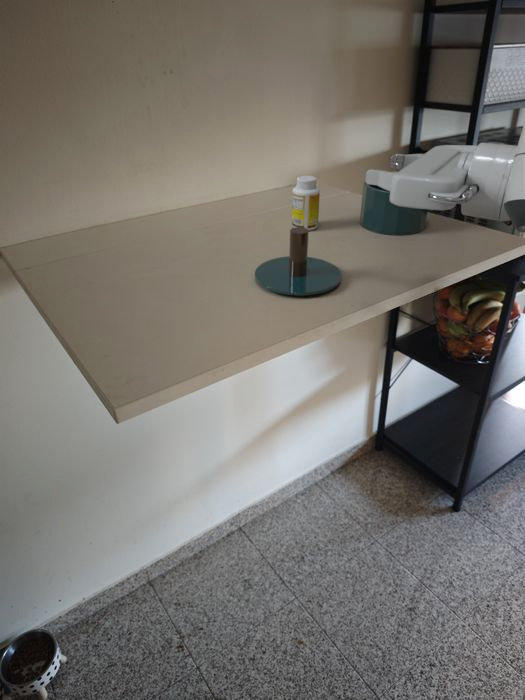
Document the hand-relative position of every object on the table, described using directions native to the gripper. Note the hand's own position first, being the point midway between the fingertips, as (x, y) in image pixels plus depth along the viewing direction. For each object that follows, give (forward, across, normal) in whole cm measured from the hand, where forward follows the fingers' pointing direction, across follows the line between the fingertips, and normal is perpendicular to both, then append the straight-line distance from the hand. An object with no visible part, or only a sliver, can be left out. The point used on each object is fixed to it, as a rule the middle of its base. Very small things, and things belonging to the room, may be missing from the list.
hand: (380, 167), depth 69 cm
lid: (+12, 0, -19) cm, 23 cm away
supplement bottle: (+23, +24, -20) cm, 38 cm away
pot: (+7, +35, -20) cm, 40 cm away
